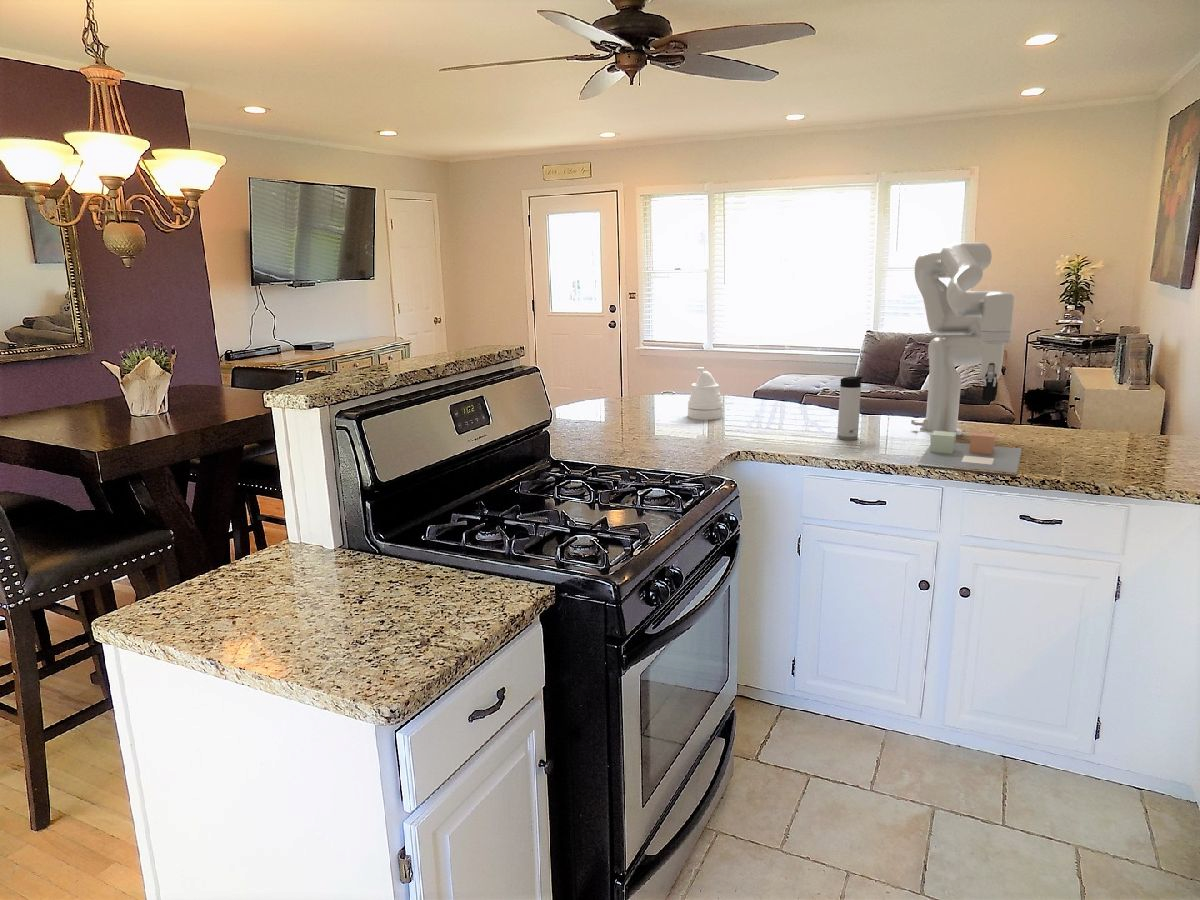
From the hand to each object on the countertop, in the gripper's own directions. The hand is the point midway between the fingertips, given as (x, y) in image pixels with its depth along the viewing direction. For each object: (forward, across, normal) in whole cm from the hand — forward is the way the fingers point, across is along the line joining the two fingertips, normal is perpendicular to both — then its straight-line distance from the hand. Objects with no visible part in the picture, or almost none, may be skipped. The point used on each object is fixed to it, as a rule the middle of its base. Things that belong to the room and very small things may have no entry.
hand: (989, 398), depth 223 cm
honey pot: (+16, -22, -94) cm, 98 cm away
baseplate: (+17, +7, -3) cm, 18 cm away
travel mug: (+17, -6, -40) cm, 43 cm away
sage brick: (+15, +4, -11) cm, 19 cm away
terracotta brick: (+15, 0, -1) cm, 15 cm away
